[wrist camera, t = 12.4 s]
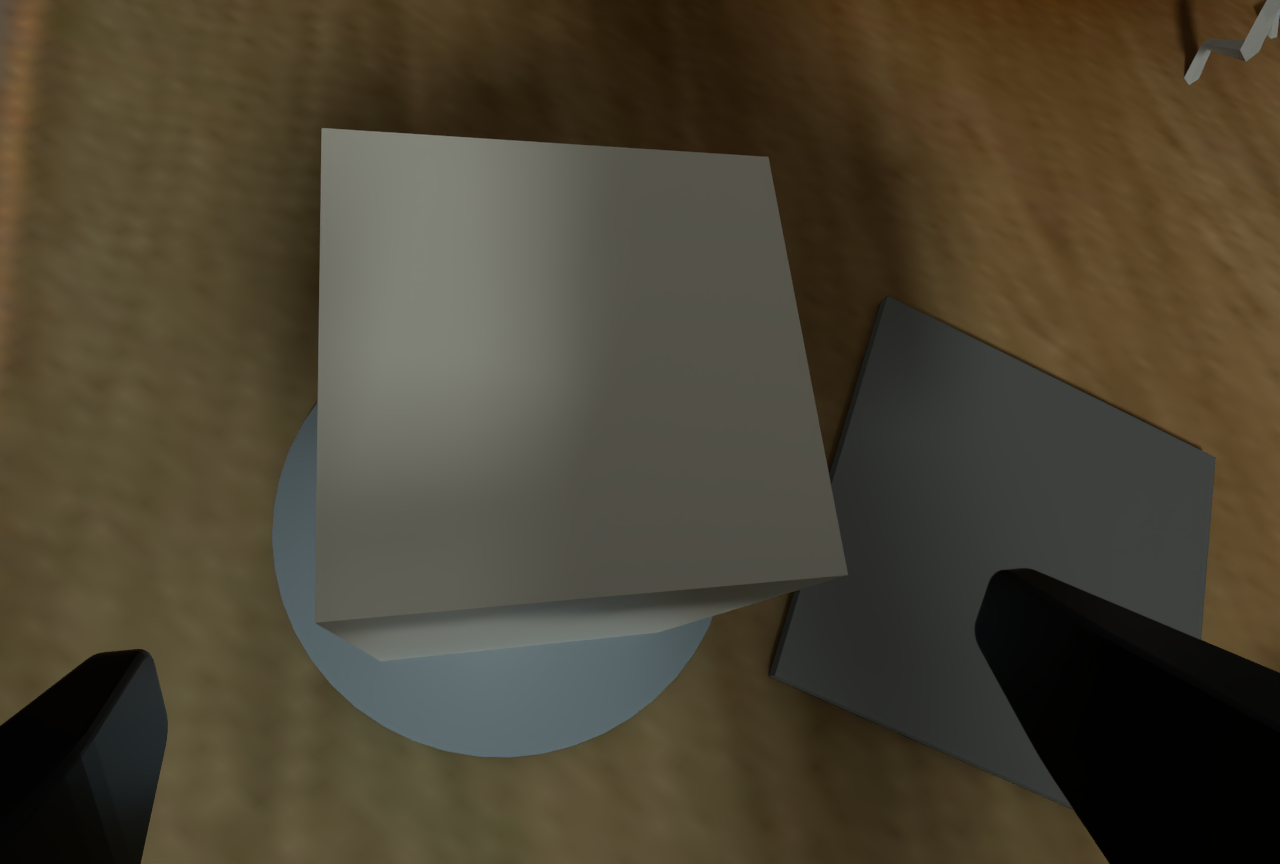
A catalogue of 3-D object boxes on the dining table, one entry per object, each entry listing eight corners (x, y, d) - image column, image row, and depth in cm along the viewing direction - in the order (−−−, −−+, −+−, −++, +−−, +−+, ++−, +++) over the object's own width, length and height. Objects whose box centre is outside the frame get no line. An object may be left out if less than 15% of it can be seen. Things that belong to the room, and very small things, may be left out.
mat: (1170, 852, 21) (1183, 854, 20) (768, 676, 19) (775, 675, 19) (1204, 461, 25) (1215, 457, 25) (880, 301, 24) (887, 295, 24)
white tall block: (657, 632, 19) (848, 574, 10) (380, 661, 17) (314, 622, 8) (629, 387, 21) (768, 157, 12) (377, 391, 19) (321, 128, 10)
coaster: (676, 805, 18) (681, 808, 18) (192, 688, 16) (186, 688, 16) (756, 389, 22) (762, 384, 22) (374, 264, 20) (373, 256, 20)
